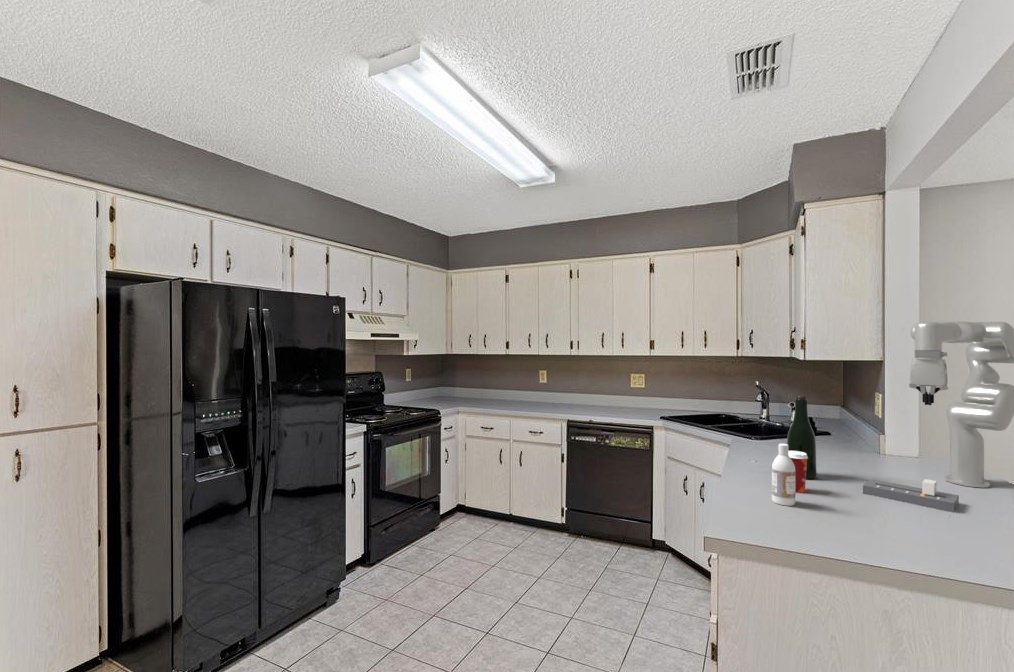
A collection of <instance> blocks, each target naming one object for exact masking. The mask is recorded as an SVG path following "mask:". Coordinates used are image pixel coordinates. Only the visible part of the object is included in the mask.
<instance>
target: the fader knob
mask: <svg viewBox="0 0 1014 672" xmlns="http://www.w3.org/2000/svg"><path fill="white" fill-rule="evenodd" d="M921 485H922V487H921V488H922V494H927V495H933V496H934V495H935V494H936V493H937V491H938V490H937V480H933V479H926V478H924V480H922V482H921Z"/></svg>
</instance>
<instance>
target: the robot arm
mask: <svg viewBox="0 0 1014 672" xmlns="http://www.w3.org/2000/svg"><path fill="white" fill-rule="evenodd" d="M909 333H910V337H911V338H912V339H913V340H914V358H912V359H911V363H910V368H909V369H910V370H909V371H910V372H909V385H908V387H909V388H911V389H914V390H917V391H919V392H920V393H921V394H922V395H921V397H922V401H921V402H922V403H924V405H925V406H931V405H932V404H935V394H936V393H938V392H941V391H947V390H949V387H948V367H947V362H946V359H944V357H948V352H945V351H943V343H946V344H968V345H967V346H966V347H965V351H964V353H965V354H964V355H965V358H966V362H967V365H968V367H969V375H968V378H967V380H966V382H965V384H964V386H963V388H962V390H961V393H960V398H961V400H962V401H955V402H952V403H950V404H948V406H947V407H946V412H945V413H946V417H947V422H948V428H949V475H945V476H944V480H945V481H946V482H949V483H952V484H955V485H960V486H963V487H964V486H965V487H969V488H970V487H972V488H985V489H986V488H989V487H991V484H990V482H989V481H987V480H985V439H984V437H983V436H982V434H981V432H980V431H979V430H978V429H981V430H989V431H996V432H997V431H998V432H1000V431H1004V430H1006V429H1008V428H1009V425H1010V424H1011V422H1012V420H1013V418H1014V385H1013V384H1009V383H1005V382H1004V383H1003V382H1000V377H1001V376H1000V374H999V372H998V371H997V370H996V369H995V368H993V367H992V366H991V365H990V364H991V363H992V364H1014V327H1013V326H1012V325H1011V324H1010V323H1008V322H1006V321H924V322H923V321H922V322H916V323H914V324H913V325H912V326H911V327H910V332H909ZM989 363H990V364H989ZM927 387H930V389H929V392H928V390H927Z"/></svg>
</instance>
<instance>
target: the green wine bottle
mask: <svg viewBox="0 0 1014 672" xmlns="http://www.w3.org/2000/svg"><path fill="white" fill-rule="evenodd" d="M794 403H795V405H794V406H795V408H794V416H793V420H792V423H791V425H790V428H789V429H788V432H787V438H786V444H787V445H788V451H799V452H804V453H806V454H807V457H808V458H807V468H806V480H814V479H816V478H817V467H818V465H817V442H816V436H815V432H814V429H813V428H812V425H811V423H810V419H809V413H808V399H807V396H805V395H796V398H795V399H794Z"/></svg>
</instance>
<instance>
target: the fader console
mask: <svg viewBox="0 0 1014 672" xmlns="http://www.w3.org/2000/svg"><path fill="white" fill-rule="evenodd" d="M862 494H864V495H867V496H873V497H877V496H878V498H882V497H883V498H882V499H887V498H888V500H892V499H893V500H892V501H897V502H901V501H902V503H906V502H907V504H910V505H911V504H913V505H917V506H921V505H922V506H921V507H925V506H926V508H931V509H936V510H941V511H945V512H949V513H950V512H951V513H955V512H956V509H957V508H958V506H959V504H960V501H959V500H960V499H959V498H960V497H959V494H954V493H949V492H944V491H938V490H937V493H936V494H935V495H934V496H933V495H927V494H922V487H918V486H917V487H916V486H911V485H906V484H900V483H895V482H889V481H884V480H880V479H879V480H878V479H874V478H870V479H869V480H868V481H866V482H865V483H864V484H862Z"/></svg>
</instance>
